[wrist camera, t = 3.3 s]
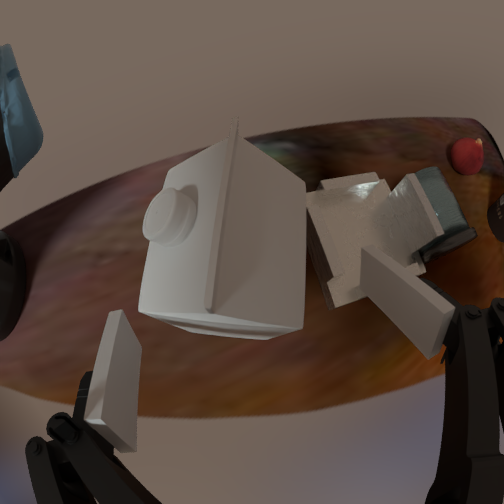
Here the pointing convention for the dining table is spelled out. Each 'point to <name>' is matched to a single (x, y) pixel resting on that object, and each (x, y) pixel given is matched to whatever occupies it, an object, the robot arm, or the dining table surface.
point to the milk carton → (227, 244)
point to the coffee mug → (497, 218)
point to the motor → (380, 227)
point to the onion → (467, 156)
